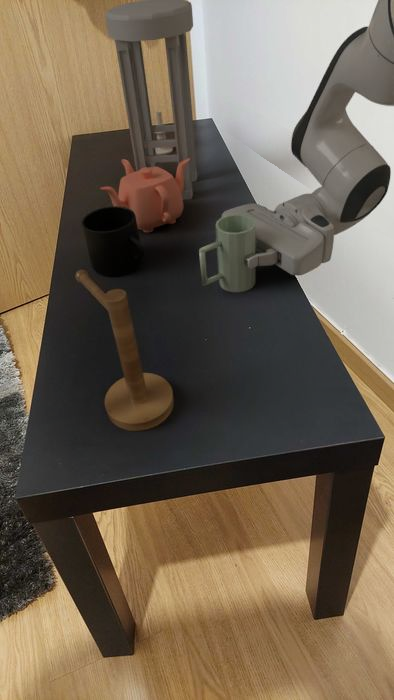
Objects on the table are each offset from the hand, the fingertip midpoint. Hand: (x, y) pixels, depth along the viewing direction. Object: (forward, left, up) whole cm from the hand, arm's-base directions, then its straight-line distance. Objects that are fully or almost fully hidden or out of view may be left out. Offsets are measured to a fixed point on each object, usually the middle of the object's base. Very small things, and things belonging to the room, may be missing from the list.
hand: (232, 253), depth 83 cm
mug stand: (-13, +25, -6) cm, 29 cm away
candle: (+61, -18, -6) cm, 64 cm away
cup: (0, +1, -6) cm, 6 cm away
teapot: (+30, +1, -6) cm, 31 cm away
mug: (+17, +13, -6) cm, 22 cm away
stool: (+40, -9, -6) cm, 42 cm away
